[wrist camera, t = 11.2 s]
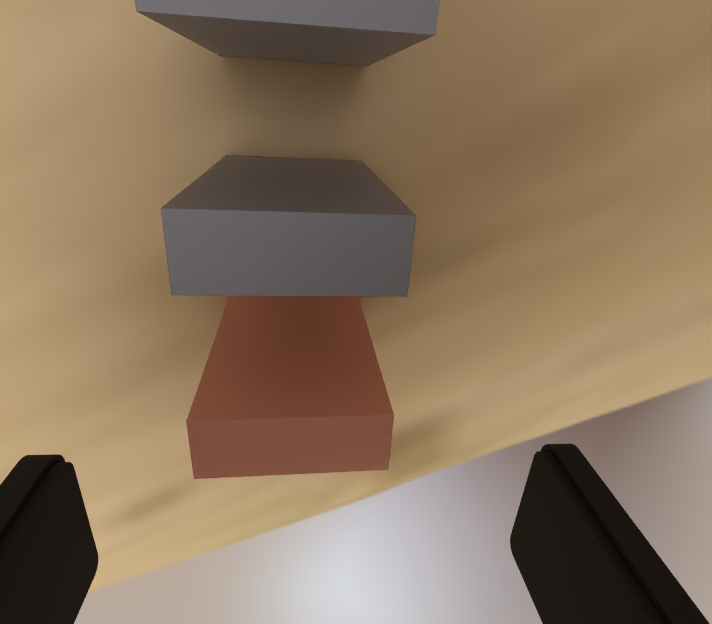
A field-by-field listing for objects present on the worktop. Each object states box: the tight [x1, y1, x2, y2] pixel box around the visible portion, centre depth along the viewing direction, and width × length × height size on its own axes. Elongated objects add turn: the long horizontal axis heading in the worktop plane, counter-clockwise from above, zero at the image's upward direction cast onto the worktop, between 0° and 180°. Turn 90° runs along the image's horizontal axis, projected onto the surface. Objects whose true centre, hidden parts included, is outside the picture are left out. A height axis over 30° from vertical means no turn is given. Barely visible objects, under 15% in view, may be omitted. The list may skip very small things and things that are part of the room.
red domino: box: [186, 296, 394, 479], centre depth 16 cm, size 2×5×9 cm, turn 88°
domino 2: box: [161, 155, 416, 297], centre depth 14 cm, size 2×5×9 cm, turn 87°
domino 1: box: [135, 0, 439, 66], centre depth 11 cm, size 2×5×9 cm, turn 87°
